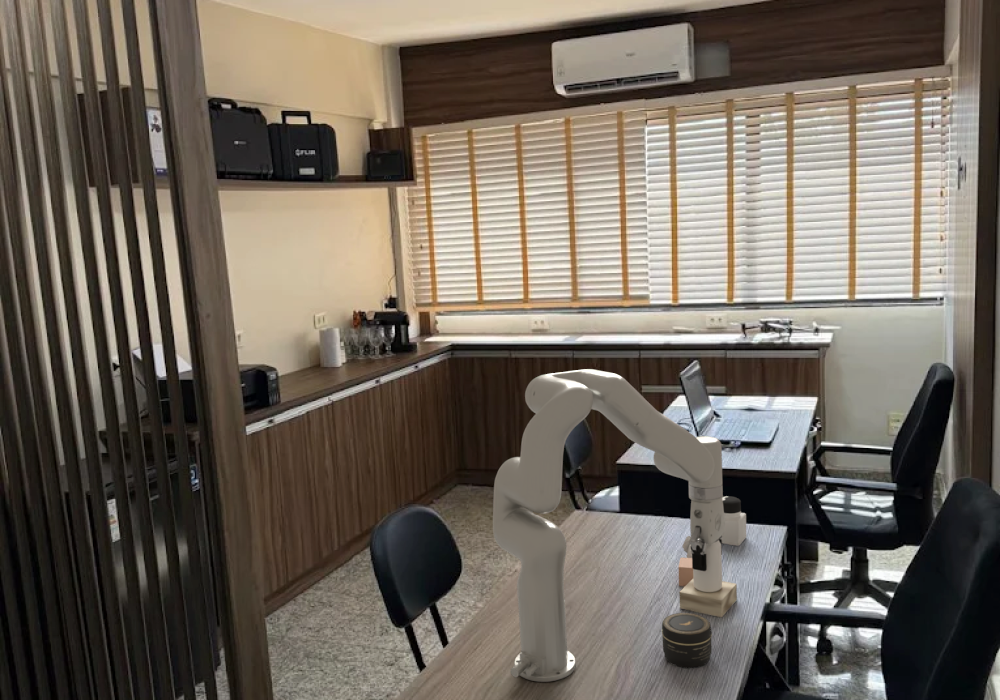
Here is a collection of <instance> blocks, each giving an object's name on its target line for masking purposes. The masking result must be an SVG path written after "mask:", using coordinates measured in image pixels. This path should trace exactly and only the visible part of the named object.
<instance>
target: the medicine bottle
mask: <svg viewBox="0 0 1000 700" xmlns="http://www.w3.org/2000/svg"><path fill="white" fill-rule="evenodd" d="M722 500H723V508H724V521H725V532H724V533H723V535H722V538H721V539H722V545H723V544H724V545H729V546H730V545H731V546H737V547H739V546H740V545H741V544H742V543H743V542H744V540H746V538H747V513H745V512H742V505H741V504H742V501H741V499H740V498H737V497H736V496H729V495H728V496H727V495H726V496H723V498H722ZM719 539H720V538H719Z"/></svg>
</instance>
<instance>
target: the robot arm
mask: <svg viewBox="0 0 1000 700" xmlns="http://www.w3.org/2000/svg"><path fill="white" fill-rule="evenodd" d="M524 397H525V398H524V399H525V403H526V405H527V407H528V409H530V411H531V412H533V413H535V414H534V415H533V417H532V418H531V419H530V420H529V422H528V423H527V425H526V427H525V429H524V431H523V434H522V438H521V445H520V456H514V457H510V458H509V459H507V460H505V461H504V462H503V463H502V464H501V465H500V467H499V469H498V470H497V473H496V475H495V478H494V485H493V505H492V506H493V507H492V509H493V510H492V532H493V533H492V534H493V538H494V540H495V542H496V544H497V546H498V547H499V548H500V549H501V550H503V551H505V552H506V553H508V554H510V555H512V557H513V556H514V557H515V558H516V559H518V560H520V565H521V567H520V571H519V572H518V573H519V574H518V576H517V581H516V582H517V583H516V589H517V590H516V592H517V593H516V594H517V605H518V620H519V622H518V624H519V639H520V652H519V654H517V656H516V657H515V659H514V663H513V664H514V665H513V667H512V668H510V674H511V676H512V677H514V678H518V677H519V676H520V677H522V678H523V679H526V680H529V681H534V682H539V683H540V682H541V683H545V682H546V683H547V682H548V683H550V682H556V681H558V680H562V679H564V678H566V677H568V676H570V675H571V674H572V673H573V672H574V670H575V669H576V658H575V656H574V654H573V653H571V652H570V651H569V650H568V641H567V640H568V637H567V621H566V620H567V618H566V599H565V585H564V583H565V579H564V578H565V577H564V576H565V573H564V571H565V561H566V554H567V540H566V536H565V534H564V533H563V531H562V529H561V528H560V527H559V526H558V525H557V524H555V523H554V522H553V521H550V519H547V518H545V517H542V516H540V515H538V514H544V515H545V514H549V513H552V512H553V511H554V510H556V508H557V507H558V506H559V504H560V502H561V496H562V489H563V488H562V487H563V486H562V485H563V463H564V462H563V461H564V451H565V449H564V448H565V443H566V441H567V438H568V437H569V435H570V434H571V432H572V431H573V430H574V429H575V427H577V426H578V425H579V424H580V423H581V422H583V420H584V419H585V418H587V416H588V415H589V414H590V412H591V410H594V411H598V412H600V413H601V414H602V415H603V416H604V417H605V418H606V419H607V420H608V421H609V422H611V423H612V424H613V425H614V426H615V427H616V428H617V429H618V430H619V431H620V432H621V433H622V434H623V435H625V436H626V437H627V439H628V440H631V441H632V442H634V443H635V444H637V445H639V446H641V447H642V448H645V449H647V450H649V451H653V452H654V453H653V463H654V466H655V467H656V468H657V469H658V471H661V472H662V473H664V474H666V475H669V476H672V477H676V478H678V479H679V478H680V479H683V480H685V481H687V482H688V498H689V499H690V500H691V501H690V502H691V503H690V518H689V519H690V523H689V524H690V532H689V533H690V536H691V538H690V545H691V546H690V547H691V553H692V568H693V569H695V570H700V571H706V570H707V562H706V554H704V553H705V549H706V545H707V544H709V545H711V544H713V543H714V542H715V541H716V540H717V539H719V538H720V539H719V541H720V543H721V556H722V555H723V547H722V546H723V544H722V539H721V538H722V535H723V533H724V532H725V521H724V508H723V500H722V498H723V497H724V495H723V492H724V491H723V457H722V456H723V454H722V452H723V451H722V449H723V447H722V442H721V441H720V440H719V439H718V438H717V437H713V436H708V435H707V436H705V435H703V436H702V435H701V436H695V435H693V433H691V432H689V431H688V430H687V429H686V428H684V427H682V426H681V425H679V424H678V423H676V422H675V421H673V420H672V419H671V418H669V417H668V416H666V415H664V414H663V413H662V412H660V411H658V410H657V409H656V408H655V407H654V406H653V405H652V404H651V403H649V401H647V400H646V398H644V396H643V395H642V394H641V393H640V392H639V391H638V390H637V389H636V388H634V386H632V385H631V384H630V383H629V382H628V380H626V379H625V378H624V377H623V376H621V375H619V374H617V373H613V372H609V371H603V370H598V369H593V368H587V369H585V368H584V369H578V370H568V371H563V372H555V373H553V372H552V373H547V374H546V373H545V374H541V375H539V376H537V377H535V378H533V379H532V380H531V381H530V382H529V383H528V385H527V387H526V388H525V393H524ZM535 513H538V514H535ZM698 539H704V541H703V540H698ZM698 544H702V548H700V546H699V545H698Z"/></svg>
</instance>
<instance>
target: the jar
mask: <svg viewBox="0 0 1000 700" xmlns="http://www.w3.org/2000/svg"><path fill="white" fill-rule="evenodd" d="M712 633H713V632H712V625H711V622H710V620H708V619H707V618H706V617H705V616H703V615H700V614H696V613H691V612H677V613H673V614H670V615H668V616H666V617H665V618H664V619H663V620H662V623H661V635H662V650H663V655H664V657H665V659H666V660H667V661H668V662H669V663H670V664H672V665H673V666H676V667H679V668H683V669H696V668H700V667H703V666H705V665H706V664H707V663H708V662H709V661H710V659H711V655H712V650H713V649H712V647H713V646H712V636H713V635H712Z"/></svg>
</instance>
